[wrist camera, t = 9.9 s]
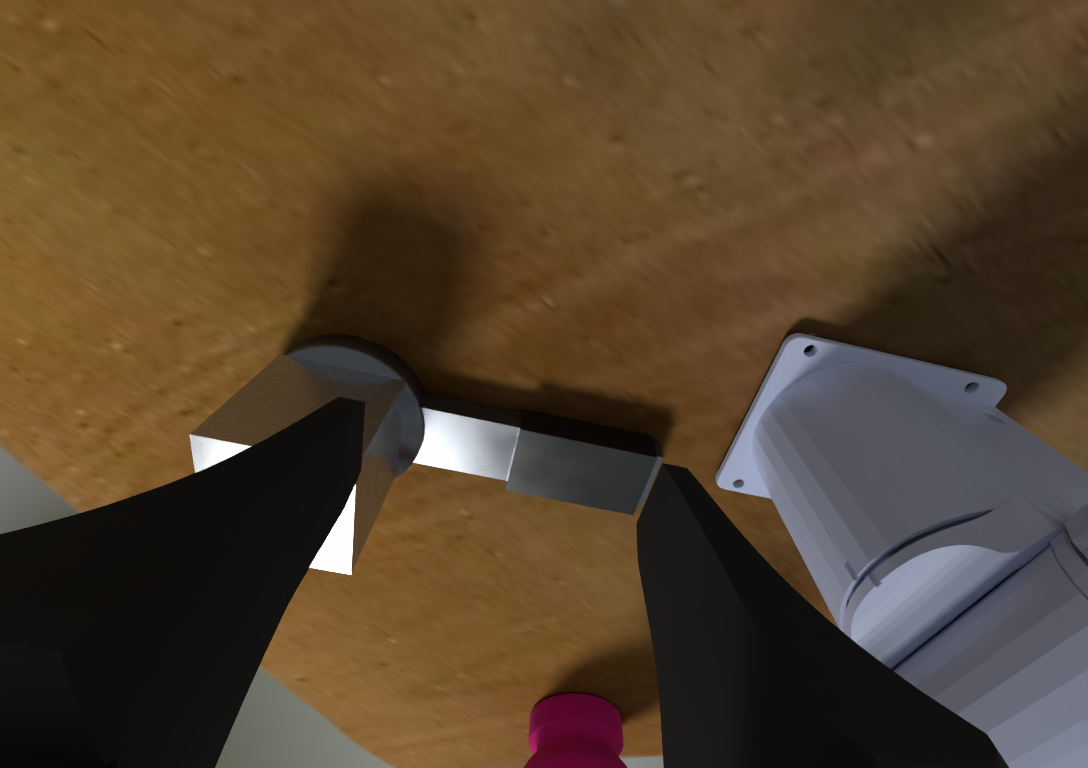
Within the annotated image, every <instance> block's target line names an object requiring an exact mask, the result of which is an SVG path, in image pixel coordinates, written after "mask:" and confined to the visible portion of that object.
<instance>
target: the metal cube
mask: <svg viewBox="0 0 1088 768" xmlns="http://www.w3.org/2000/svg"><path fill="white" fill-rule="evenodd" d="M405 382H406V381H404V380H399V379H394V378H390V377H385V376H380V375H375V374H371V373H366V372H361V371H357V370H352V369H347V368H342V367H338V366H333V365H328V364H323V363H319V362H314V361H309V360H304V359H300V358H295V357H290V356H286V355H281V354H280V355H279V356H278V357H276V358H275V359H274V360H273V361H272V362H271V363H270V364H268V365H267V366H266V367H265V368H264V369H263V370H262V371H261V372H259V373H258V374H257V375H256V376H255V377H254V378H253V379H252V380H250V381H249V382H248V383H247V384H246V385H245V386H244V387H242V388H241V389H240V390H239V391H238V392H237V393H236V394H235V395H233V396H232V397H231V398H230V399H229V400H228V401H227V402H226V403H224V404H223V405H222V406H221V407H220V408H219V409H218V410H216V411H215V412H214V413H213V414H212V415H211V416H210V417H209V418H207V419H206V420H205V421H204V422H203V423H202V424H201V425H200V426H198V427H197V428H196V429H195V430H194V431H193V432H192V433H190V441H191V447H192V454H193V461H194V467H195V473H196V472H199V471H201V470H203V469H206V468H208V467H210V466H212V465H215V464H217V463H219V462H221V461H223V460H225V459H227V458H229V457H231V456H233V455H235V454H237V453H239V452H241V451H243V450H245V449H247V448H249V447H251V446H253V445H255V444H257V443H259V442H261V441H263V440H265V439H267V438H269V437H270V436H272V435H274V434H276V433H277V432H279V431H281V430H283V429H284V428H286V427H288V426H290V425H291V424H293V423H295V422H297V421H298V420H300V419H302V418H303V417H305V416H307V415H308V414H310V413H312V412H313V411H315V410H317V409H319V408H320V407H322V406H324V405H325V404H327V403H329V402H330V401H332V400H334V399H336V398H338V397H343V398H348V399H353V400H358V401H362V402H365V416H364V434H363V452H362V470H361V472H360V475H359V477H358V479H357V482H356V484H355V487H354V489H353V491H352V493H351V496H350V498H349V500H348V502H347V505H346V507H345V509H344V510H343V512H342V514H341V516H340V517H339V519H338V521H337V522H336V524H335V526H334V527H333V529H332V531H331V532H330V534H329V536H328V538H327V539H326V541H325V543H324V544H323V546H322V547H321V549H320V551H319V552H318V554H317V556H316V557H315V559H314V561H313V562H312V564H311V566H310V567H312V568H317V569H323V570H328V571H334V572H339V573H345V574H350V575H351V573H352V571H353V568H354V566H355V564H356V562H357V560H358V557H359V555H360V553H361V551H362V549H363V546H364V544H365V542H366V540H367V538H368V535H369V533H370V531H371V529H372V527H373V524H374V522H375V520H376V518H377V516H378V513H379V511H380V509H381V507H382V505H383V502H384V500H385V498H386V496H387V494H388V491H389V489H390V487H391V485H392V483H393V480H394V478H395V476H396V470H397V460H398V450H399V441H400V431H401V421H402V411H403V402H404V392H405Z"/></svg>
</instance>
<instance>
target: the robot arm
mask: <svg viewBox="0 0 1088 768" xmlns="http://www.w3.org/2000/svg"><path fill="white" fill-rule="evenodd" d="M809 345H813V348H812V349H811V351H809V352H804V349H805V348H806V347H807V346H809ZM969 383H971V385H970V386H969V387H967V388H965V387H966V386H967V385H968V384H969ZM1006 391H1007V386H1006V384H1005V383H1003V382H1002V381H1000V380H998V379H996V378H993V377H988V376H984V375H980V374H975V373H971V372H967V371H962V370H958V369H954V368H949V367H945V366H941V365H936V364H932V363H928V362H923V361H919V360H915V359H910V358H906V357H902V356H897V355H893V354H889V353H884V352H880V351H876V350H871V349H867V348H863V347H858V346H854V345H850V344H846V343H841V342H837V341H833V340H828V339H824V338H820V337H815V336H811V335H807V334H802V333H795V334H792V335H790V336H788V337H787V338H786V339H785V341H784V342H783V344H782V346H781V348H780V350H779V352H778V354H777V356H776V358H775V360H774V362H773V364H772V366H771V368H770V370H769V372H768V374H767V376H766V378H765V380H764V381H763V383H762V385H761V387H760V389H759V391H758V393H757V395H756V397H755V399H754V401H753V403H752V405H751V407H750V409H749V411H748V413H747V415H746V417H745V419H744V421H743V423H742V425H741V427H740V429H739V431H738V433H737V435H736V437H735V439H734V441H733V443H732V445H731V447H730V448H729V450H728V452H727V454H726V456H725V458H724V460H723V462H722V464H721V466H720V468H719V470H718V472H717V474H716V481H717V484H718V486H719V487H720V488H723V489H726V490H731V491H736V492H741V493H746V494H751V495H756V496H761V497H766V498H771V499H772V500H773V502H774V504H775V506H776V508H777V510H778V512H779V514H780V516H781V518H782V519H783V521H784V523H785V525H786V527H787V529H788V531H789V533H790V535H791V537H792V539H793V541H794V542H795V544H796V546H797V548H798V550H799V552H800V554H801V556H802V558H803V560H804V562H805V564H806V566H807V567H808V569H809V571H810V573H811V575H812V577H813V579H814V581H815V583H816V585H817V587H818V589H819V590H820V592H821V594H822V596H823V598H824V600H825V602H826V604H827V606H828V608H829V610H830V612H831V614H832V615H833V617H834V619H835V621H836V623H837V625H838V627H839V628H837V627H836V626H835V625H834V624H833V623H831V622H830V621H829V620H828V619H827V618H825V617H824V616H823V615H822V614H821V613H820V612H819V611H817V610H816V609H815V608H814V607H813V606H812V605H811V604H810V603H809V602H808V601H806V600H805V599H804V598H803V597H802V596H801V595H800V594H799V593H798V592H797V591H796V590H795V589H794V588H793V587H792V586H791V585H789V584H788V583H787V582H786V581H785V580H784V579H783V578H782V577H781V576H780V575H779V574H778V573H777V572H776V571H775V570H774V569H773V568H772V567H771V565H770V564H769V563H768V562H767V561H766V560H765V559H764V558H763V557H762V556H761V555H760V554H759V553H758V552H757V550H756V549H755V548H754V547H753V546H752V545H751V544H750V543H749V542H748V540H747V539H746V538H745V537H744V536H743V535H742V534H741V532H740V531H739V530H738V529H737V528H736V527H735V525H734V524H733V523H732V522H731V521H730V519H729V518H728V517H727V516H726V515H725V513H724V512H723V511H722V510H721V509H720V507H719V506H718V505H717V504H716V502H715V501H714V500H713V499H712V498H711V496H710V495H709V494H708V493H707V491H706V490H705V489H704V488H703V486H702V485H701V484H700V483H699V482H698V480H697V479H696V478H695V477H694V476H693V475H692V473H691V472H690V471H689V470H688V469H687V468H684V467H679V466H674V465H669V464H664V463H663V464H662V466H661V468H660V471H659V473H658V475H657V477H656V480H655V482H654V484H653V487H652V489H651V491H650V494H649V496H648V498H647V501H646V503H645V505H644V507H643V510H642V512H641V514H640V517H639V519H638V521H637V550H638V564H639V570H640V576H641V582H642V587H643V593H644V598H645V604H646V609H647V615H648V620H649V626H650V631H651V637H652V642H653V647H654V653H655V660H656V668H657V676H658V689H659V701H660V713H661V729H662V745H663V762H664V768H1088V473H1087V472H1086V471H1085V470H1083V469H1082V468H1080V467H1079V466H1078V465H1076V464H1075V463H1073V462H1072V461H1070V460H1069V459H1068V458H1066V457H1065V456H1063V455H1062V454H1061V453H1059V452H1058V451H1056V450H1055V449H1054V448H1052V447H1051V446H1049V445H1048V444H1047V443H1045V442H1044V441H1042V440H1041V439H1039V438H1038V437H1037V436H1035V435H1034V434H1032V433H1031V432H1030V431H1028V430H1027V429H1025V428H1024V427H1023V426H1021V425H1020V424H1018V423H1017V422H1015V421H1014V420H1013V419H1011V418H1010V417H1008V416H1007V415H1006V414H1004V413H1003V412H1001V411H1000V410H999V409H997V408H996V407H995V406H996V405H997V404H998V402H999V401H1000V400H1001V399H1002V397H1003V396H1004V395H1005V393H1006ZM364 416H365V402H362V401H358V400H353V399H348V398H343V397H338V398H336V399H334V400H332V401H330V402H329V403H327V404H325V405H324V406H322V407H320V408H319V409H317V410H315V411H313V412H312V413H310V414H308V415H307V416H305V417H303V418H302V419H300V420H298V421H297V422H295V423H293V424H291V425H290V426H288V427H286V428H284V429H283V430H281V431H279V432H277V433H276V434H274V435H272V436H270V437H269V438H267V439H265V440H263V441H261V442H259V443H257V444H255V445H253V446H251V447H249V448H247V449H245V450H243V451H241V452H239V453H237V454H235V455H233V456H231V457H229V458H227V459H225V460H223V461H221V462H219V463H217V464H215V465H212V466H210V467H208V468H206V469H203V470H201V471H199V472H196V473H194V474H191V475H189V476H187V477H184V478H182V479H179V480H177V481H174V482H172V483H169V484H167V485H164V486H161V487H158V488H155V489H153V490H150V491H147V492H144V493H141V494H138V495H135V496H132V497H129V498H127V499H124V500H121V501H118V502H115V503H112V504H109V505H106V506H103V507H100V508H96V509H93V510H90V511H86V512H83V513H79V514H76V515H73V516H69V517H66V518H62V519H59V520H54V521H51V522H47V523H43V524H40V525H36V526H32V527H29V528H24V529H20V530H17V531H12V532H8V533H3V534H0V768H215V766H216V764H217V761H218V759H219V756H220V754H221V752H222V750H223V747H224V745H225V743H226V740H227V738H228V735H229V733H230V731H231V729H232V726H233V724H234V722H235V719H236V717H237V715H238V712H239V710H240V708H241V705H242V703H243V700H244V698H245V696H246V694H247V692H248V690H249V687H250V685H251V683H252V681H253V678H254V676H255V674H256V672H257V669H258V667H259V665H260V663H261V661H262V659H263V656H264V654H265V652H266V650H267V648H268V646H269V643H270V641H271V639H272V637H273V635H274V633H275V631H276V629H277V626H278V624H279V622H280V620H281V618H282V616H283V614H284V612H285V610H286V608H287V606H288V604H289V602H290V600H291V598H292V597H293V595H294V593H295V591H296V589H297V587H298V586H299V584H300V582H301V581H302V579H303V577H304V576H305V574H306V572H307V571H308V569H309V567H310V566H311V564H312V562H313V561H314V559H315V557H316V556H317V554H318V552H319V551H320V549H321V547H322V546H323V544H324V543H325V541H326V539H327V538H328V536H329V534H330V532H331V531H332V529H333V527H334V526H335V524H336V522H337V521H338V519H339V517H340V516H341V514H342V512H343V510H344V509H345V507H346V505H347V502H348V500H349V498H350V496H351V493H352V491H353V489H354V487H355V484H356V482H357V479H358V477H359V475H360V472H361V470H362V452H363V434H364ZM738 479H741V480H740V481H739V482H734V481H735V480H738Z"/></svg>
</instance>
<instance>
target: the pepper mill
mask: <svg viewBox="0 0 1088 768" xmlns="http://www.w3.org/2000/svg"><path fill="white" fill-rule="evenodd" d="M529 746H530V749H531V751H532V752H533V753H534V755H533V756H532V757H531V758H530V759H529V760H528V762H527V763H526V765H525V767H524V768H627V766H626V765H625V764H624V763H623V761H622V760H621V759H620V758H619V757H618V756H619V755H620V753H621V751H622V749H623V732H622V721H621V716H620V714H619V712H618V710H617V709H616V708H615V707H614V706H613V705H612V704H611V703H609V702H608V701H606V700H604V699H602V698H599V697H596V696H592V695H589V694H582V693H567V694H561V695H555V696H552V697H550V698H547V699H544V700H543V701H541V702H540V703H539V704H537V705H536V706H535V707H534V709H533V710H532V712H531V715H530V725H529Z"/></svg>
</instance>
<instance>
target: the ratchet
mask: <svg viewBox="0 0 1088 768" xmlns="http://www.w3.org/2000/svg"><path fill="white" fill-rule="evenodd" d="M286 356H290V357H295V358H300V359H304V360H309V361H314V362H319V363H323V364H328V365H333V366H338V367H342V368H347V369H352V370H357V371H361V372H366V373H371V374H375V375H380V376H385V377H390V378H394V379H399V380H404V381H406V382H405V392H404V402H403V411H402V421H401V431H400V441H399V450H398V460H397V470H396V476H395V478H396V477H397V476H399V475H401V474H402V473H403V472H404V471H406V470H407V469H408V468H409V467H410V466H411V464H412V463H413V462H414V463H419V464H425V465H430V466H435V467H440V468H445V469H450V470H455V471H460V472H465V473H470V474H475V475H480V476H485V477H490V478H495V479H500V480H505V481H507V483H506V489H505V490H508V491H513V492H518V493H523V494H528V495H533V496H539V497H544V498H549V499H554V500H559V501H564V502H569V503H574V504H579V505H584V506H589V507H595V508H600V509H605V510H610V511H615V512H620V513H625V514H630V515H634V512H635V510H636V508H637V507H642V506H643V504H644V501H645V499H646V497H647V494H648V492H649V490H650V487H651V485H652V483H653V480H654V478H655V476H656V474H657V471H658V469H659V467H660V464H661V462H662V460H663V454H662V451H661V447H660V443H659V441H655V440H653V438H652V436H649V435H644V434H640V433H635V432H630V431H625V430H621V429H616V428H611V427H606V426H601V425H597V424H592V423H587V422H582V421H578V420H573V419H568V418H563V417H558V416H554V415H549V414H544V413H539V412H535V411H530V410H525V409H523V411H522V413H521V412H516V411H511V410H507V409H502V408H497V407H492V406H487V405H483V404H478V403H473V402H468V401H463V400H459V399H454V398H449V397H444V396H439V395H435V394H430V393H426V392H425V390H424V387H423V385H422V384H421V382H420V380H419V379H418V377H417V376H416V374H415V373H414V372H413V370H412V369H411V368H410V367H409V366H408V365H407V364H406V363H405V362H404V361H403V360H401V359H400V358H399V357H398V356H397V355H395V354H394V353H392V352H391V351H389V350H388V349H386V348H384V347H382V346H380V345H378V344H376V343H374V342H371V341H368V340H366V339H362V338H358V337H354V336H348V335H324V336H319V337H314V338H311V339H309V340H306V341H304V342H302V343H300V344H298V345H297V346H295V347H294V348H293V349H291V350H290V351H289V352H288V353H287V354H286Z"/></svg>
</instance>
